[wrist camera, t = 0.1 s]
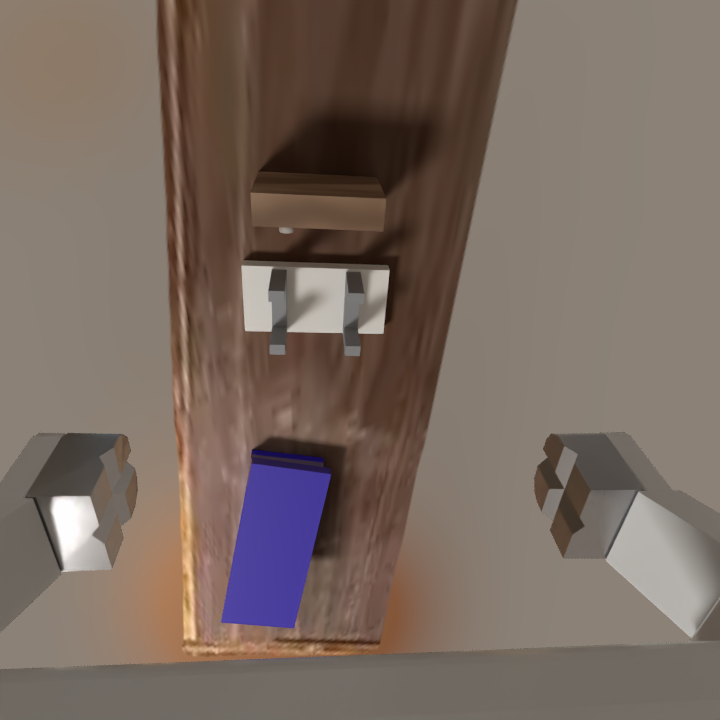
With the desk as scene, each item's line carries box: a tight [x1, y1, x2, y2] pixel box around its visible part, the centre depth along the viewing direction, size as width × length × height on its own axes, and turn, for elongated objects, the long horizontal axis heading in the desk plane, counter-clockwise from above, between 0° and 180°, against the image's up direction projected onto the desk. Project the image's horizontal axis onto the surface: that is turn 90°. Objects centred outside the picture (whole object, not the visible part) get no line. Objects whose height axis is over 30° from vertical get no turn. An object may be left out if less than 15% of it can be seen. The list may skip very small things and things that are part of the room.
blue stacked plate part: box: [221, 450, 331, 628], centre depth 77 cm, size 12×28×10 cm, turn 167°
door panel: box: [251, 171, 386, 233], centre depth 52 cm, size 4×12×8 cm, turn 86°
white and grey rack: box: [242, 260, 390, 356], centre depth 58 cm, size 8×16×7 cm, turn 86°
